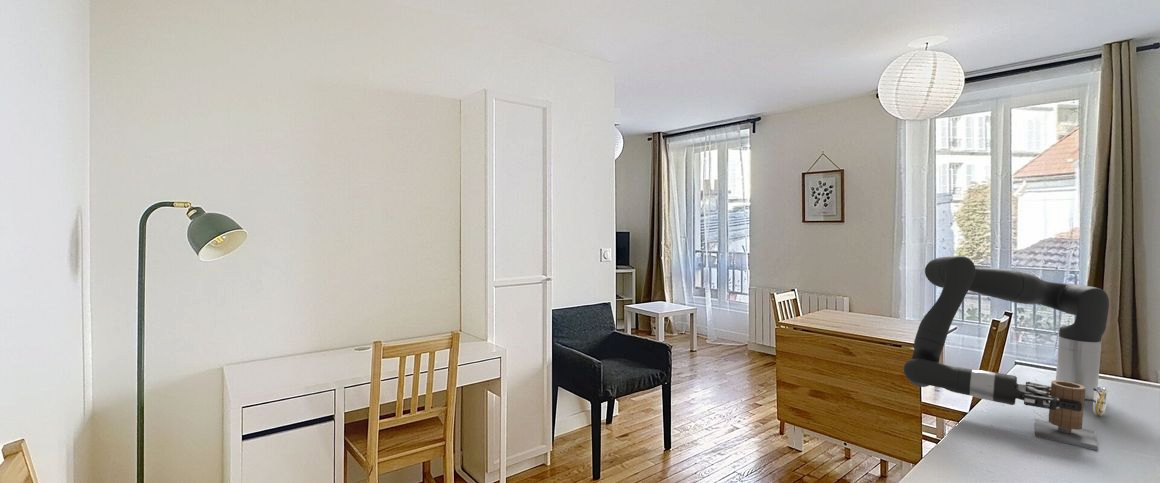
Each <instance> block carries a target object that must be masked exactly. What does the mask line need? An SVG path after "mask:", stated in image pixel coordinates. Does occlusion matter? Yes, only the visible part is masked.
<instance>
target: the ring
mask: <svg viewBox="0 0 1160 483" xmlns="http://www.w3.org/2000/svg"><path fill="white" fill-rule="evenodd" d="M1093 390H1094V399H1092V400H1093V401H1092V410H1093V414H1094V415H1096V416H1098V417H1102V416H1103V415H1104V414H1105V411H1106V408H1107V404H1108V394H1109V392H1110V390H1108V389H1107V387H1104V386H1099V385H1098V387H1097V388H1093ZM1098 395H1099V397H1098ZM1099 408H1100V409H1099Z"/></svg>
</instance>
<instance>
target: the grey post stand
mask: <svg viewBox="0 0 1160 483" xmlns="http://www.w3.org/2000/svg"><path fill="white" fill-rule="evenodd" d="M1034 437H1036V438H1040V439H1041V438H1042V439H1045V440H1050V441H1055V442H1059V443H1063V444H1067V445H1072V446H1076V447H1081V448H1086V449H1091V450H1094V451H1098V450H1099V449H1098V448H1099V446H1098V442H1097V438H1096V433H1095V430H1092V429H1091V430H1090V429H1086V428H1082V429H1077V430H1076V429H1068V428H1063V427H1059V426H1056V425H1053V424H1052V423H1050V422H1049V420H1047V421H1046V420H1043V419H1038V418H1035V421H1034Z"/></svg>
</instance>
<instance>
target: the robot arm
mask: <svg viewBox="0 0 1160 483" xmlns="http://www.w3.org/2000/svg"><path fill="white" fill-rule="evenodd" d="M924 275H925V278H926V280H928V281H929V283H931V284H932V285H934V286H936V287H939V288H942V290H941V293H940V295H939V297H938V299H937V300H936V302H934V304H933V305H932V306H931V308H930V309H929V310H928V311H927V313H926V314H925V315H924V317H923V318H922V320H921V322H920V323H919V325H918V327H917V328H918V329H917V331H916V334H915V336H914V337H915V339H914V341H913V342H914V343H913V353H912V355H911V356H912V357H911V359H908V361H906V362H905V363H904V366H903V373H904V376H905V378H906V379H907V380H908V381H909V382H910V383H911V384H913V385H914V386H916V387H920V388H926V387H929V386H931V387H936V388H942V389H945V390H947V391H949V392H952V393H957V394H960V395H967V396H971V397H974V398H977V399H980V400H985V401H989V402H995V403H1000V404H1006V405H1008V406H1009V405H1011V406H1013V405H1014V406H1015V405H1016V399H1018V400H1021V401H1023V404H1024V405H1025V406H1031V407H1036V408H1041V409H1047V410H1049V409H1052V410H1056V408H1064V409H1070V410H1075V411H1081V409H1082V403H1081V402H1079V401H1074V400H1068V399H1063V398H1061V400H1060V398H1058V397H1055V396H1051V385H1045V384H1041V383H1036V382H1031V381H1025V384H1019V383H1018V378H1017V376H1016V375H1012V374H1011V375H1010V374H1006V373H1001V372H994V371H993V372H992V371H988V370H983V369H981V370H980V369H971V368H965V367H959V366H952V365H948V364H944V363H940V358H941V354H942V351H943V349H944V346H945V343H946V340H947V337H948V334H949V331H950V328H951V326H952V323H953V321H954V319H955V316H956V314H957V313H958V311H959V309H960V307H961V305H962V303H963V301H964V300H965V297H966V295H967V294H968V291H969V292H973V293H977V294H980V295H984V296H988V297H990V298H996V299H1000V300H1003V301H1009V302H1012V303H1019V304H1025V305H1027V304H1028V305H1034V304H1035V305H1040V306H1044V307H1047V308H1051V309H1054V310H1057V311H1059V312H1063V313H1065V314H1068V315H1073V316H1075V319H1074V323H1072V324H1069V325H1062V326H1061V327H1059V330H1058V343H1057V355H1056V356H1057V357H1056V358H1057V359H1056V373H1055V380H1057V381H1067V382H1072V383H1076V384H1080V385H1082V386H1084V387H1085V398H1084V400H1093V399H1094V390H1093V388H1097V387H1098V386H1099V378H1100V376H1099V375H1100V363H1101V346H1102V339H1103V338H1102V337H1103V336H1104V333H1105V332H1106V329H1107V322H1108V316H1109V311H1110V308H1109V307H1110V301H1109V300H1110V299H1109V296H1108V294H1107V292H1106V291H1105V290H1103V289H1102V288H1099V287H1095V286H1089V285H1082V284H1077V283H1076V284H1074V283H1062V282H1053V281H1052V282H1051V281H1046V280H1043V279H1041V278H1039V277H1037V276H1035V275H1034V274H1031V273H1027V272H1023V271H1019V270H1013V269H1009V268H1008V269H1007V268H997V267H976V266H975V263H974V262H973V260H972V259H970V258H969V257H967V256H965V255H951V256H948V255H947V256H941V257H937V258H934V259H931V260H930V261H929V262H928V263H927V264H926V266H925V268H924Z"/></svg>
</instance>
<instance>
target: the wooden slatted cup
mask: <svg viewBox="0 0 1160 483" xmlns="http://www.w3.org/2000/svg"><path fill="white" fill-rule="evenodd" d="M1050 383H1051V384H1050V386H1051V396H1055V397H1058V398H1060V400H1061V398H1063V399H1068V400H1074V401H1079V402H1081V403H1082V409H1081V411H1075V410H1070V409H1064V408H1056V410H1052V409H1048V411H1049V412H1048V422H1050V423H1052V424H1053V425H1056V426H1059V427H1063V428H1068V429H1076V430H1077V429H1083V420H1084V418H1083V417H1084V407H1085V399H1084V398H1085V387H1084V386H1082V385H1080V384H1076V383H1072V382H1067V381H1057V380H1056V379H1055V380H1051V382H1050Z"/></svg>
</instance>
